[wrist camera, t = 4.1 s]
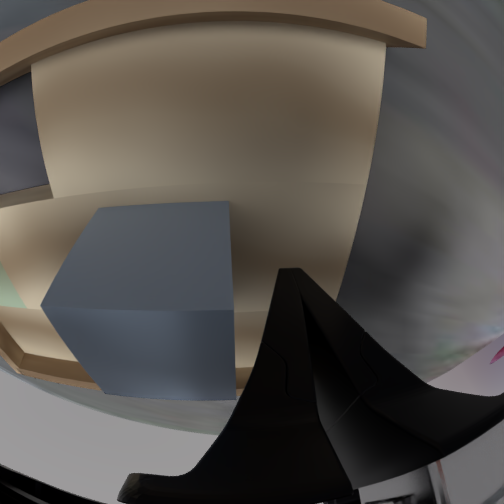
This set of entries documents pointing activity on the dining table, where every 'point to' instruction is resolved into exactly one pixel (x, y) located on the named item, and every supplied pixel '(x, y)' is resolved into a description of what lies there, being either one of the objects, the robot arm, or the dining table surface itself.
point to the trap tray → (196, 142)
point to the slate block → (151, 301)
